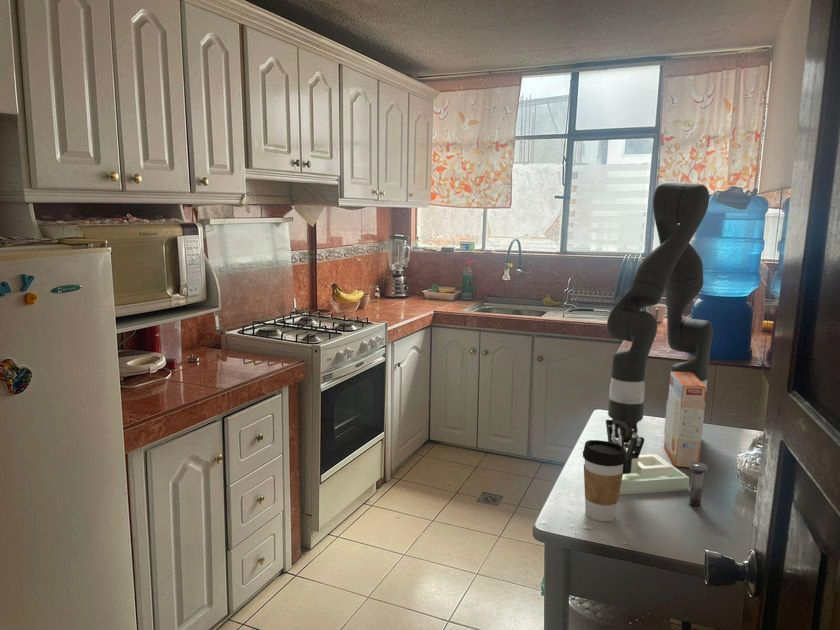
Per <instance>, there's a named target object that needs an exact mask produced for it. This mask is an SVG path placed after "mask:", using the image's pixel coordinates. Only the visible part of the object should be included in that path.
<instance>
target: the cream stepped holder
mask: <svg viewBox="0 0 840 630" xmlns="http://www.w3.org/2000/svg"><path fill="white" fill-rule="evenodd" d="M627 450H628V448H626V452H627ZM659 456H660V455H657V454H656V453H651V454H650V453H649V454H648V453H647V454H639V457H638V458H635V459H632V464H631V473H629V474H635V473H637V474H639V475H640V476H641V477H651V476H667V475H672V473H673V466H674V465H673V466H671V465H672V464H671V463H670V464H671V465H670V464H668V463H669V462H668V461H667V460H666V461H667V462H668V463H667V462H666V461H664V460H665V459H664V458H663V459H664V460H663V459H661V458H662V457H661V456H660V457H661V458H660V457H659ZM644 465H652V466H644Z"/></svg>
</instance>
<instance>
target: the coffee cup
mask: <svg viewBox="0 0 840 630" xmlns="http://www.w3.org/2000/svg"><path fill="white" fill-rule="evenodd" d="M582 458H583V459H584V465H583V476H584V477H583V478H584V482H583V483H584V484H583V485H584V502H585V503H584V504H585V505H584V507H585V514H586V516H587V517H588V518H589V519H592V520H593V521H597V522H604V523H605V522H606V523H607V522H611V521H613V520H615V519H616V514H617V509H618V503H619V499H620V495H619V493H620V487H621V482H622V476H623V464H624V463H625V462H626V455H625V449H624V447H622V446H621V445H619V444H616V443H613V442H608V440H607V441H606V440H597V439H590V440H589V439H588V440H587V441H585V443H584V446H583V451H582Z"/></svg>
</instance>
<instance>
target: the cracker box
mask: <svg viewBox="0 0 840 630" xmlns="http://www.w3.org/2000/svg"><path fill="white" fill-rule="evenodd" d="M669 377H670V378H669V387H668V397H667V400H668V408H667V419H666V429H665V428H664V429H665V432H664V440H663V441H664V442H663V447H664V449H665V451H666V452H667V455H668V456H669V459H670V460H671V462H672V464H673V466H674V467H675V468H676V467H677V468H678V467H679V468H687V469H690V463H692V462H700V455H701V446H702V439H703V429H702V428H704V419H703V418H704V417H705V407H706V400H707V399H706V397H707V389H708V387H707V386H705V385H704V384H703V383H702V382H701V381H700V380H699V379H698V378H697V377H696V376H695V375H694V374H693V373H690V372H671V371H670V376H669ZM701 438H702V439H701Z"/></svg>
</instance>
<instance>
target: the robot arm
mask: <svg viewBox="0 0 840 630" xmlns="http://www.w3.org/2000/svg"><path fill="white" fill-rule="evenodd" d="M709 203H710V192H709V189H708V188H707V187H706V185H704V184H701V183H700V184H699V183H695V182H694V183H693V182H681V181H680V182H679V181H664V182H661V183H659V184H658V185H657V187H656V188H655V190H654V192H653V200H652V209H653V210H652V212H653V216H654V217H653V218H654V222H655V227H656V230H657V231H656V232H657V236H658V240H659V241H658V242H659V245H658V246H657V247H656V248H654V249H653V250H652V251H651V252H649V253H648V254H647V255H646V256H645V257H644V258H643V260H642V261H641V262H640V264H639V265H638V268H637V269H636V272H635V274H634V277H633V279H632V282H631V284H630V287H629V288H628V289H627V291H626V292H625V293H624V294H623V296H622V297H621V298H620V300H619V301H618V302H617V304H615V306H614V307H613V308H612V310H611V312H610V313H609V315H608V318H607V322H606V328H607V329H606V330H607V332H608V334H609V335H610V337H611V338H614V339H616V340H620V341H626V342H629V343H631V346H630V348H629V350H619V351H616V352H615V353H614V354H613V356H612V365H611V366H612V368H611V379H610V385H609V393H608V394H609V395H608V406H607V407H608V408H607V415H608V417H610V419H608V418H607V419H605V425H606V435H607V441H608V442H613V443H616V444H619V445H621V446H622V447H624V449H625V455H626V462H625V463H624V464H623V474H629V473H631V464H632V459H635V458H638V457H639V455H641V451H642V449H643V445H644V443H645V438H644V437H641V436H639V435H638V432H639V431H638V423H639V422H641V421H642V420H643V418H644V408H645V407H644V406H645V405H644V404H645V395H646V394H645V393H646V386H645V385H646V383H645V378H646V377H645V376H646V367H647V366H646V364H647V360H648V357H649V355H650V352H651V348H652V345H653V344H654V341H655V339H656V336H657V332H658V323H657V320H656V318H655V316H654V315H653V314H652V313H650V312H649V311H642V310H641V309H643V308H647V307H654V306H656V305H658V304H659V303H660V301H661V300H662V297H663V294H664V292H665V301H666V316H667V321H666V322H667V323H666V324H667V325H666V330H667V331H666V332H667V343H668V345H669V348H670V349H671V350H673V351H676V352H679V353H680V352H681V353H688V354H694V355H695V357H694V358H692V359H690V360H687V361H683V362H681V361H680V362H677V363H675V364H673V365H672V366H671V368H670V373H671V372H690V373H693V374H694V375H695V376H696V377H697V378H698V379H699V380H700V381H701V382H702V383H703V384H704V385H705V386H706V387H707V386H708V385H707V384H708V374H709V365H710V356H711V349H712V343H713V337H714V328H713V324H712V322H711V321H709V320H707V319H706V320H705V319H698V318H689V317H683V313H684V311H685V309H687V307H688V306H689V305H690V304H691V303H692V302H693V301H694V299H696V298H697V296H698V295H699V294H700V292H701V290H702V289H703V287H704V267H703V261H702V259H701V256H700V254H699V253H698V252H697V250H696V249H695V248H694V246H693V245H692V244H691V243H690V242H691V241H692V239H693V237H694V235H695V234H696V232H697V230H698V228H699V227H700V225H701V223H702V222H703V220H704V218H705V216H706V213H707V210H708V208H709ZM667 408H668V399H667V400H666V407H665V409H666V410H665V419H664V430H663V431H664V433H665V429H666V419H667ZM703 420H704V418H703ZM703 428H704V427H703ZM703 428H702V430H703ZM702 439H703V437H702V438H701V440H702ZM629 442H630V444H625V443H629ZM626 448H628V450H627V452H626Z"/></svg>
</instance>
